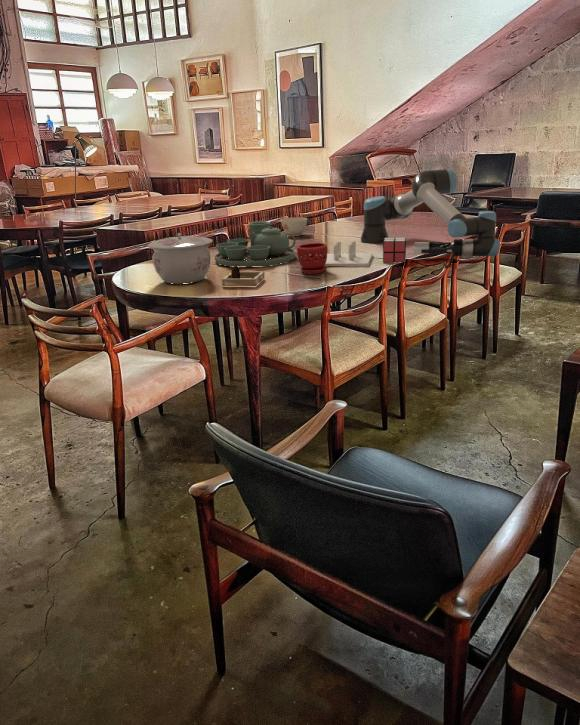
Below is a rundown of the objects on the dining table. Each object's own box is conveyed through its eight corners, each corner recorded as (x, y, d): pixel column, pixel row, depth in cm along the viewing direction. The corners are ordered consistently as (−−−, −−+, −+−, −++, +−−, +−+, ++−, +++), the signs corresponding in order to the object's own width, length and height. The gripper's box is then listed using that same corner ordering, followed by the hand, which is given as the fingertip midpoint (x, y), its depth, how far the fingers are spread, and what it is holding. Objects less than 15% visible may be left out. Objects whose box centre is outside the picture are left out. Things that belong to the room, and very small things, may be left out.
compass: (248, 285, 238) (246, 268, 235) (231, 284, 241) (229, 267, 238) (257, 281, 245) (255, 264, 242) (240, 280, 248) (239, 263, 245)
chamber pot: (180, 292, 233) (173, 240, 226) (139, 284, 250) (132, 235, 243) (230, 278, 253) (226, 229, 245) (189, 271, 270) (184, 226, 262)
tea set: (206, 258, 299) (203, 226, 293) (279, 250, 312) (277, 218, 306) (228, 273, 264) (225, 236, 258) (308, 262, 277) (307, 227, 271)
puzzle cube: (405, 263, 264) (405, 241, 261) (382, 263, 266) (383, 241, 263) (405, 258, 273) (406, 237, 270) (384, 259, 276) (384, 237, 272)
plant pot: (322, 267, 263) (322, 241, 259) (331, 273, 251) (330, 245, 247) (294, 270, 260) (293, 243, 256) (302, 276, 248) (301, 248, 244)
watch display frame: (233, 279, 249) (232, 271, 248) (264, 279, 246) (264, 271, 245) (222, 287, 237) (221, 279, 235) (255, 287, 234) (254, 279, 232)
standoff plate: (324, 256, 288) (323, 239, 285) (372, 256, 282) (372, 238, 279) (315, 266, 266) (314, 248, 263) (367, 266, 261) (367, 247, 258)
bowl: (278, 235, 357) (277, 218, 354) (303, 233, 361) (302, 216, 358) (286, 239, 343) (285, 221, 339) (311, 236, 347) (311, 219, 343)
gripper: (463, 261, 251) (413, 261, 256) (460, 250, 274) (414, 251, 278) (464, 244, 248) (413, 244, 253) (461, 234, 271) (415, 235, 276)
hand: (414, 248), depth 266 cm, fingers open, 13 cm apart
